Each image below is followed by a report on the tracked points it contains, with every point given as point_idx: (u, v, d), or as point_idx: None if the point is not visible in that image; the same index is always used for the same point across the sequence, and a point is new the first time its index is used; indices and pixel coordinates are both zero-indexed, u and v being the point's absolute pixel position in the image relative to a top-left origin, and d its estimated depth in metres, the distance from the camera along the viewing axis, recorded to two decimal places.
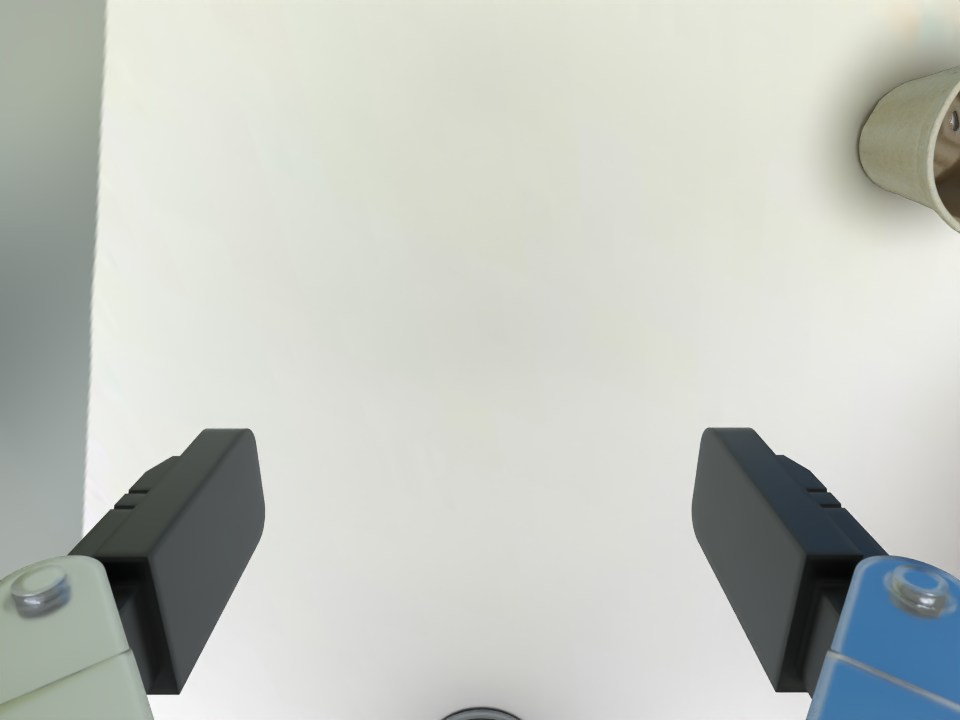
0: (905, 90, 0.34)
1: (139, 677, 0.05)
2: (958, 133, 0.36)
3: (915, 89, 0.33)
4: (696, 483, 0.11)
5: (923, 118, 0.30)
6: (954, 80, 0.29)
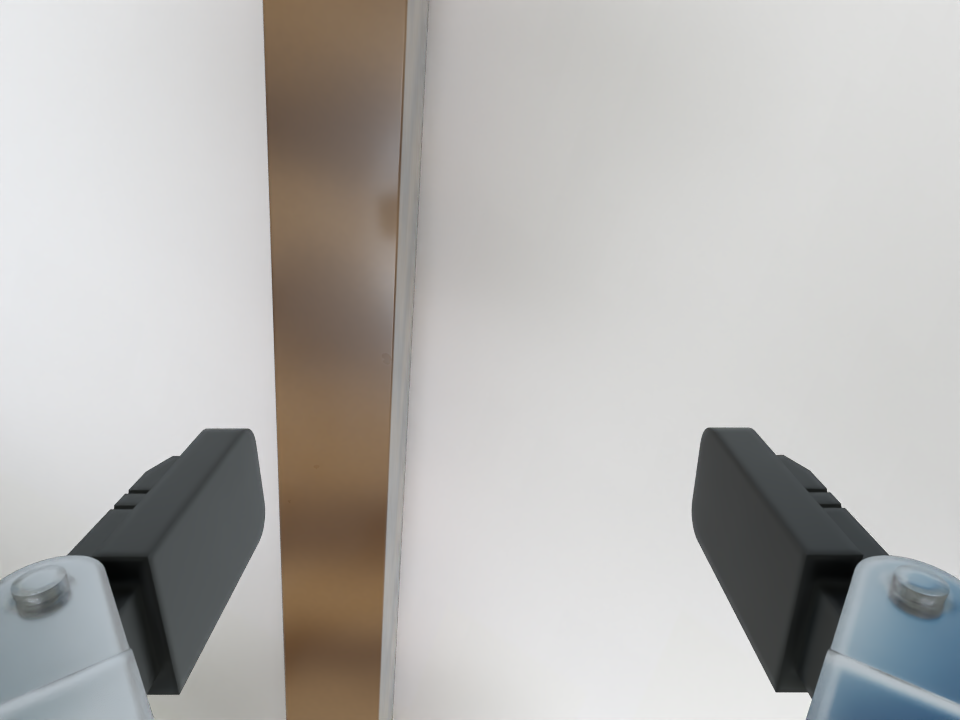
0: None
1: (139, 677, 0.05)
2: None
3: None
4: (696, 483, 0.11)
5: None
6: None
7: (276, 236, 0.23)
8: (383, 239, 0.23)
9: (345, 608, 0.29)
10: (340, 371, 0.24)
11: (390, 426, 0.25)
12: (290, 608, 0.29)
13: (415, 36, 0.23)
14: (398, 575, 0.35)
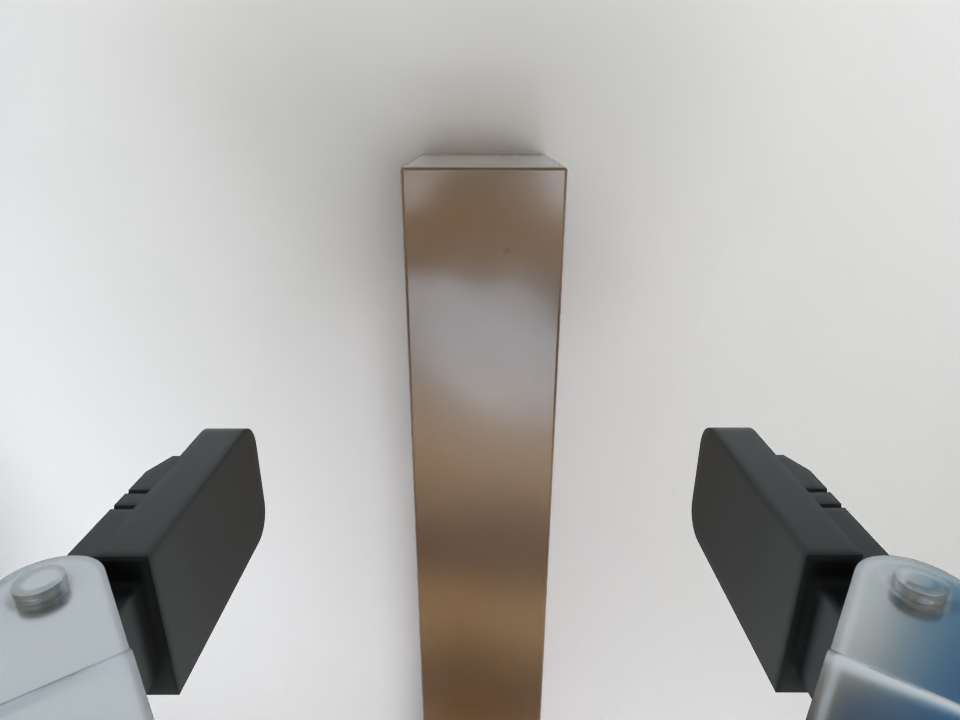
0: None
1: (139, 677, 0.05)
2: None
3: None
4: (696, 483, 0.11)
5: None
6: None
7: (426, 629, 0.23)
8: (530, 625, 0.23)
9: None
10: None
11: None
12: None
13: None
14: None
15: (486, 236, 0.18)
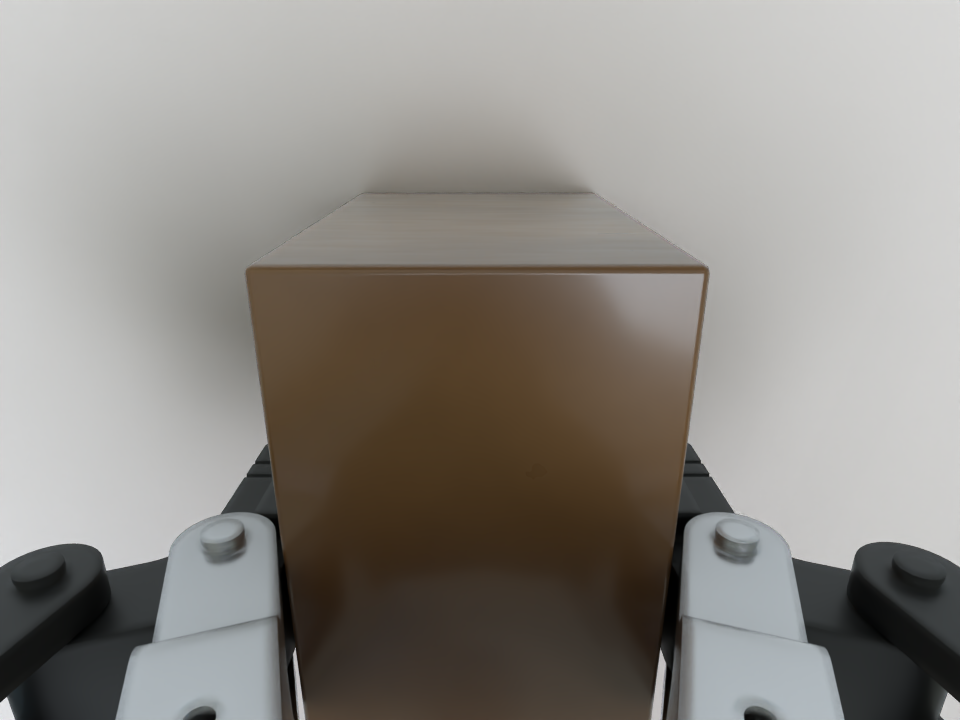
0: None
1: (277, 646, 0.06)
2: None
3: None
4: None
5: None
6: None
7: None
8: None
9: None
10: None
11: None
12: None
13: None
14: None
15: (485, 438, 0.07)
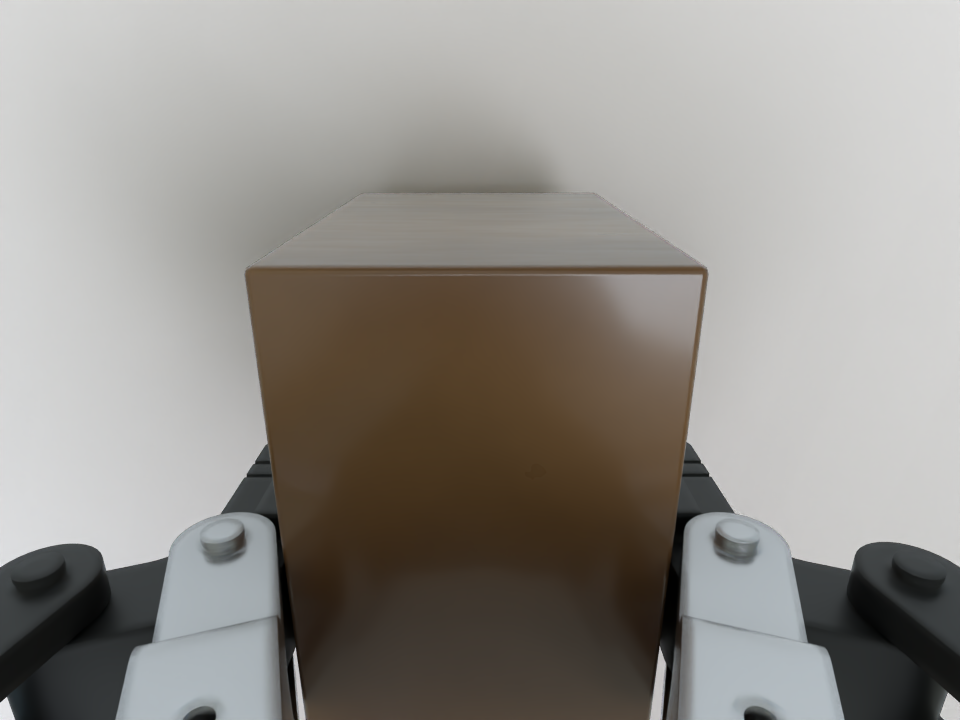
0: None
1: (277, 645, 0.06)
2: None
3: None
4: None
5: None
6: None
7: None
8: None
9: None
10: None
11: None
12: None
13: None
14: None
15: (485, 439, 0.07)
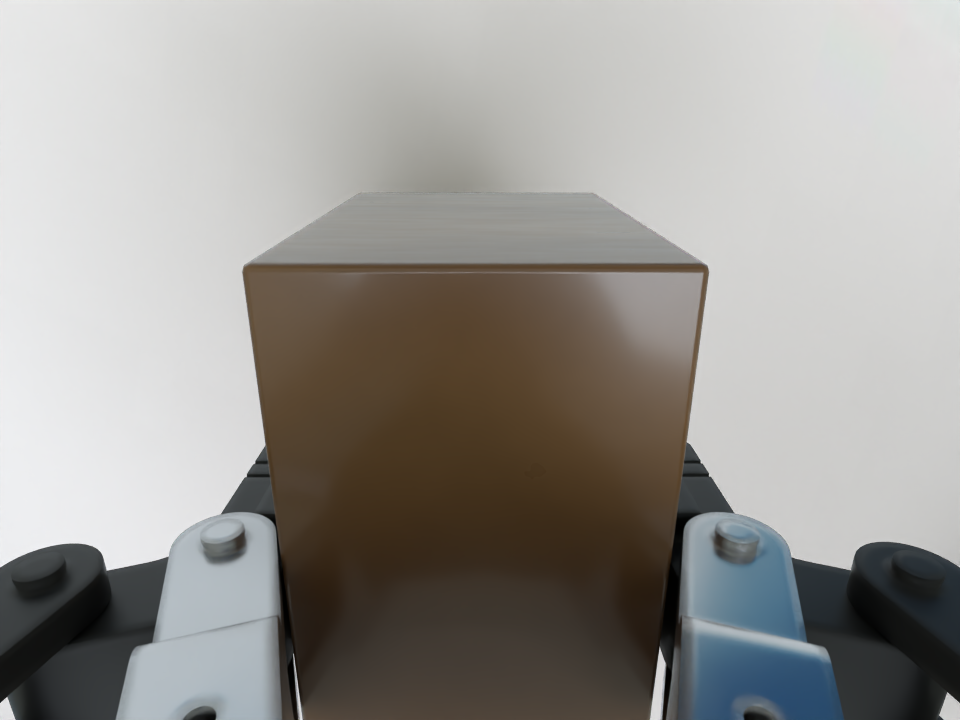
0: None
1: (277, 645, 0.06)
2: None
3: None
4: None
5: None
6: None
7: None
8: None
9: None
10: None
11: None
12: None
13: None
14: None
15: (484, 439, 0.07)
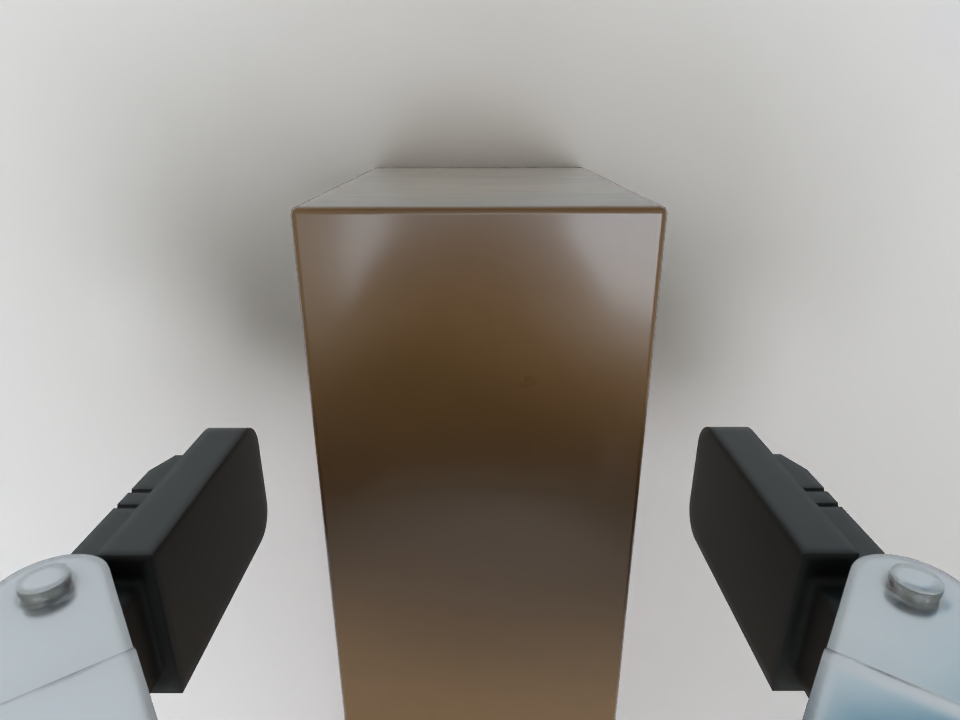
0: None
1: (142, 676, 0.05)
2: None
3: None
4: (694, 482, 0.11)
5: None
6: None
7: None
8: None
9: None
10: None
11: None
12: None
13: None
14: None
15: (486, 354, 0.08)
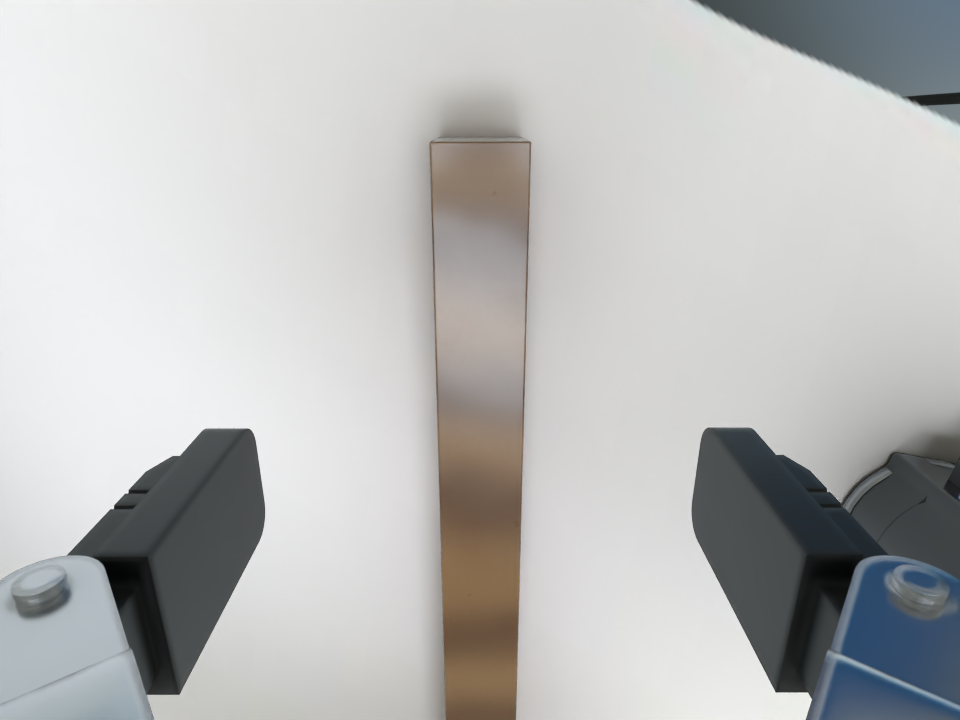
0: None
1: (139, 677, 0.05)
2: None
3: None
4: (696, 483, 0.11)
5: None
6: None
7: (442, 457, 0.34)
8: (513, 453, 0.34)
9: (490, 686, 0.40)
10: (485, 534, 0.36)
11: (519, 565, 0.37)
12: (450, 689, 0.40)
13: None
14: None
15: (482, 184, 0.29)
